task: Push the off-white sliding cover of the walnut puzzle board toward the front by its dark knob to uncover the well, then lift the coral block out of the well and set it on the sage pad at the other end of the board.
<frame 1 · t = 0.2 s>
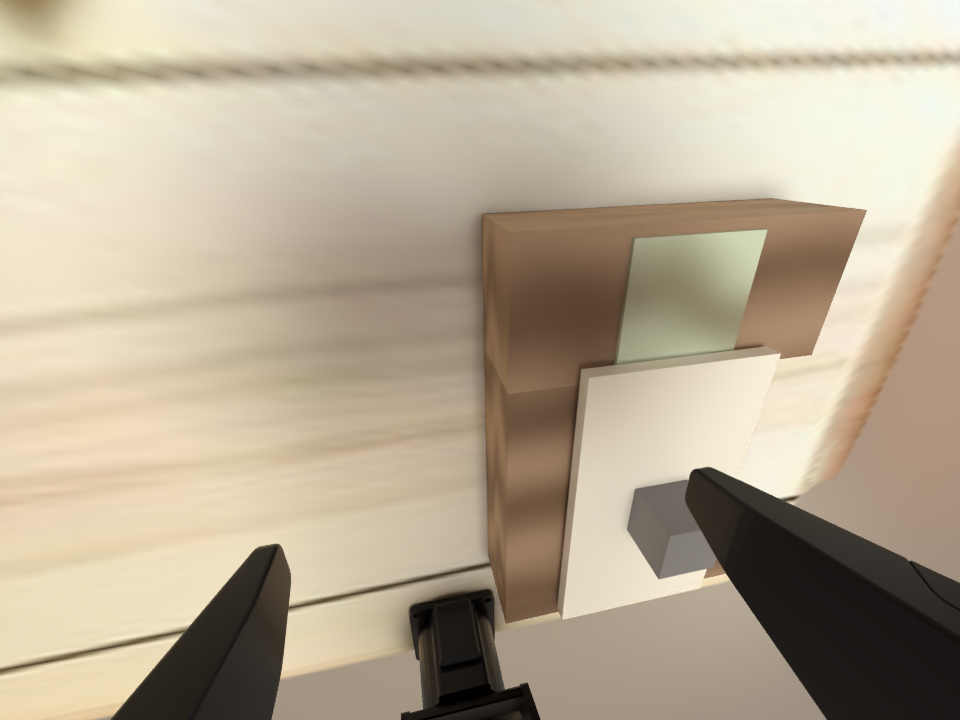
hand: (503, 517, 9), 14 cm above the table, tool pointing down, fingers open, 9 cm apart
cover: (668, 521, 21), point 7 cm above the table, slide at 0.0 cm
board: (608, 404, 26), on the table
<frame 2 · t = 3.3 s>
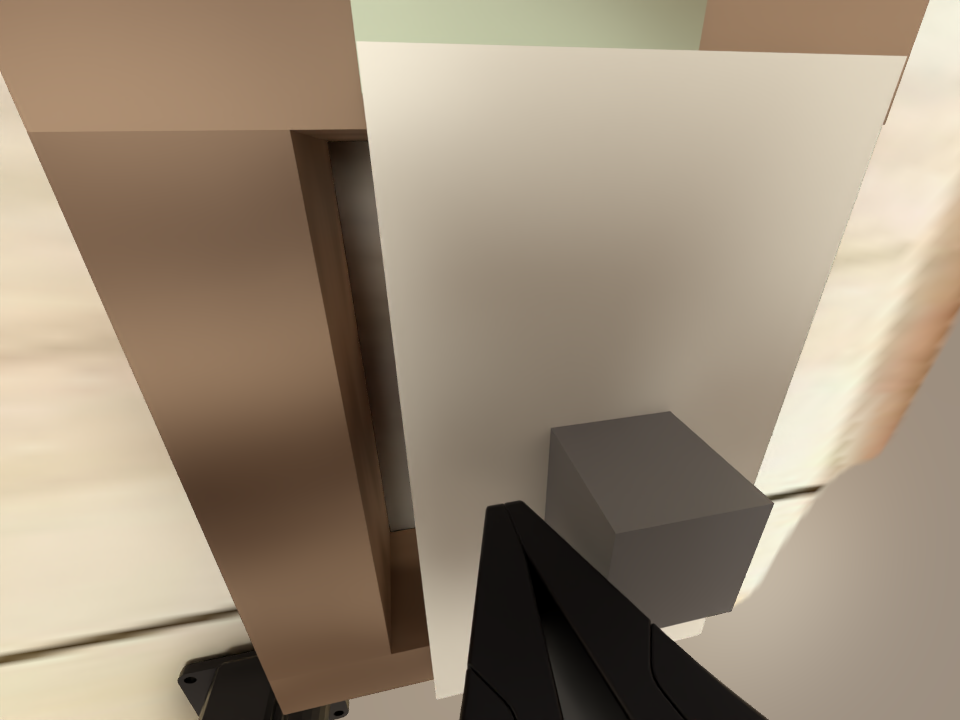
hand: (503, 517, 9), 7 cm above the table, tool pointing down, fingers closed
cover: (627, 501, 9), point 7 cm above the table, slide at 1.8 cm, touching gripper
board: (482, 303, 14), on the table
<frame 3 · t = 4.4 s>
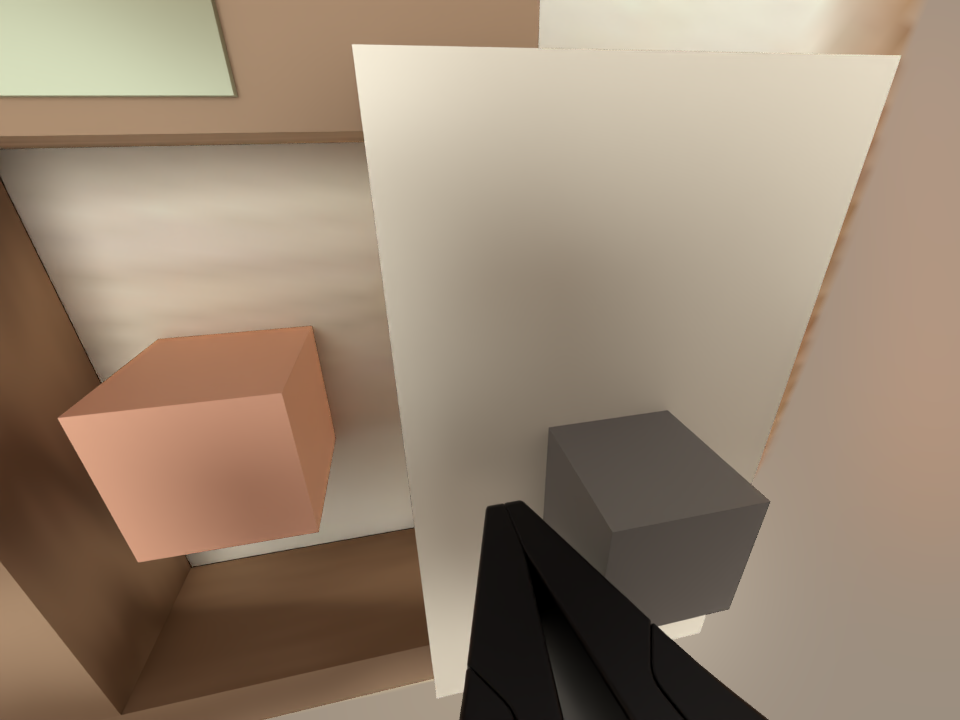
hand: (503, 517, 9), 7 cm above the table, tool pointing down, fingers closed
block: (256, 392, 14), on the table
cover: (625, 500, 9), point 7 cm above the table, slide at 9.7 cm, touching gripper
board: (234, 325, 13), on the table
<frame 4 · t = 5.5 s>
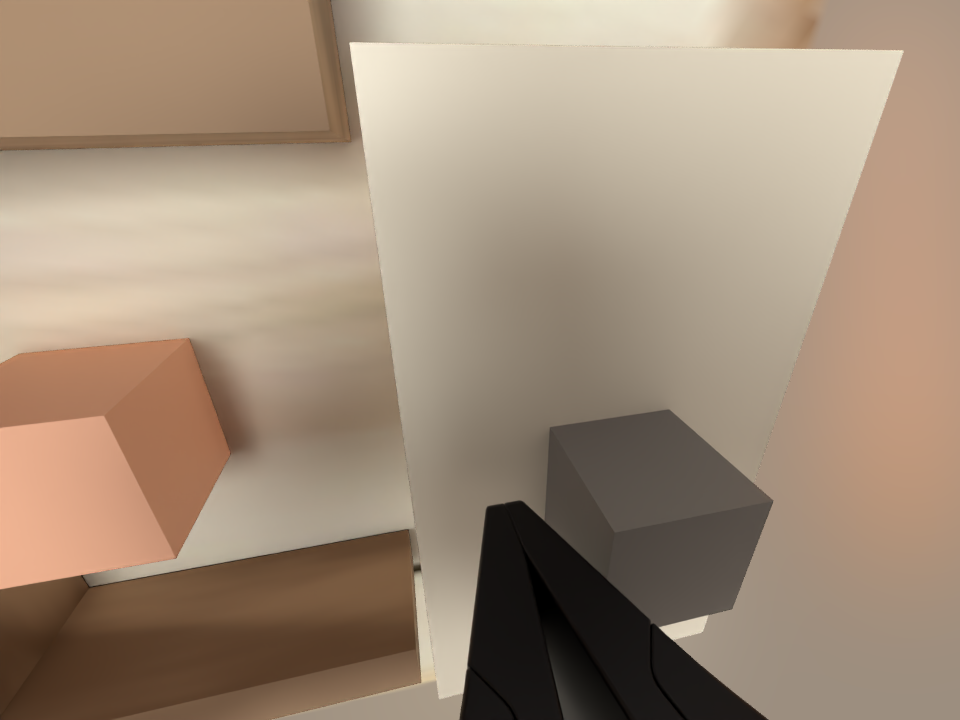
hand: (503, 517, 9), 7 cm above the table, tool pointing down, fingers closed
block: (137, 407, 14), on the table
cover: (627, 500, 9), point 7 cm above the table, slide at 13.3 cm, touching gripper
board: (101, 338, 12), on the table
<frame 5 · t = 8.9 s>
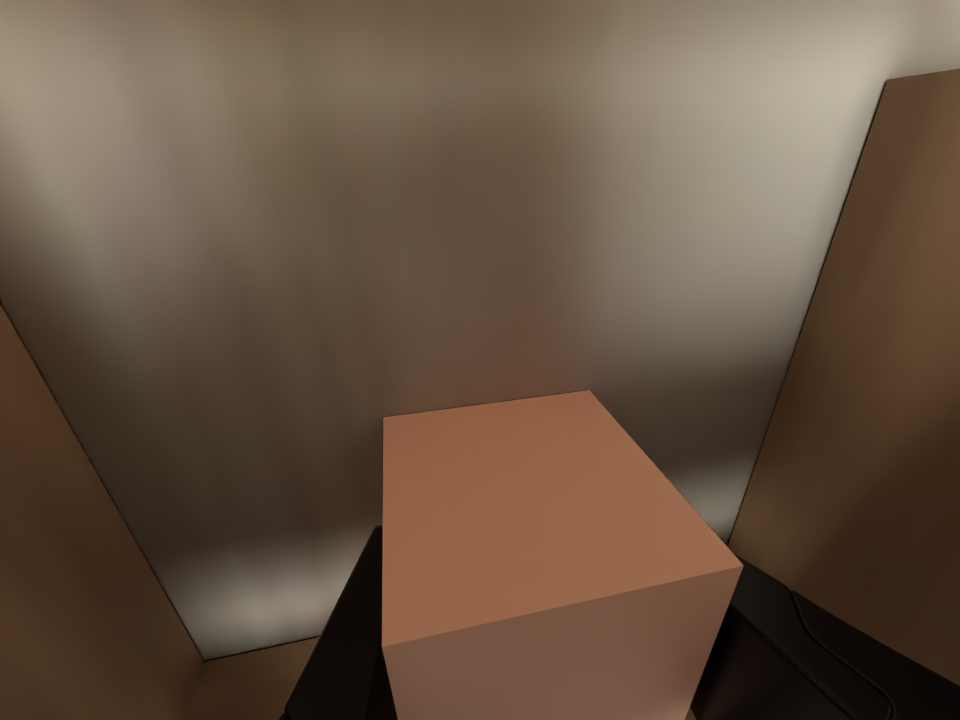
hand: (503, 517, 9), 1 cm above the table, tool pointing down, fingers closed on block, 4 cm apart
block: (492, 483, 10), on the table, touching gripper
board: (384, 502, 9), on the table
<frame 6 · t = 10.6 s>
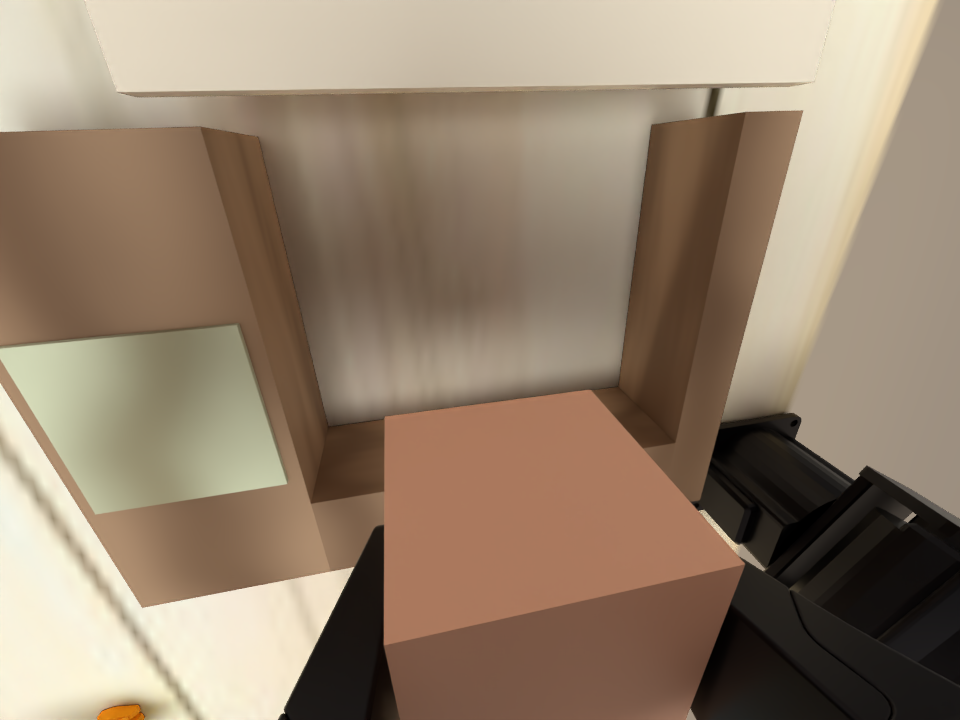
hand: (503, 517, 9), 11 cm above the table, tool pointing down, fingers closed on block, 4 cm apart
block: (493, 482, 10), point 10 cm above the table, touching gripper
toy figure: (121, 710, 26), on the table
board: (424, 333, 19), on the table
when the fingers open (7 cm above the table, at t = 12.1 s): block drops 1 cm, resting on board.
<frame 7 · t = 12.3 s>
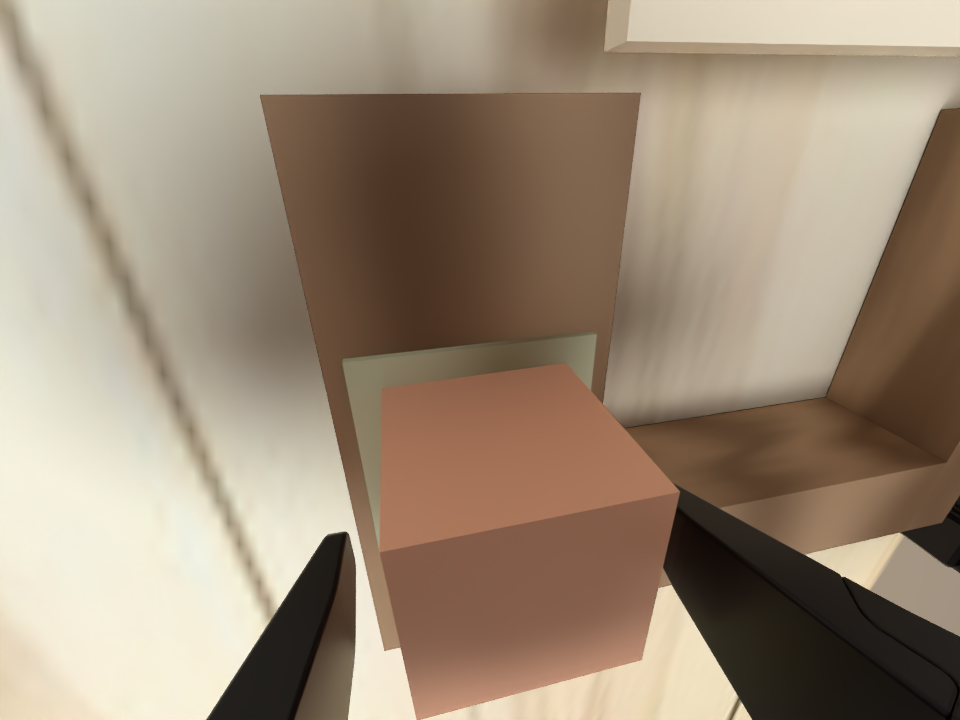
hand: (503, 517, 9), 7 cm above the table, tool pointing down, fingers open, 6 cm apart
block: (481, 450, 11), point 5 cm above the table, touching board
board: (657, 340, 17), on the table
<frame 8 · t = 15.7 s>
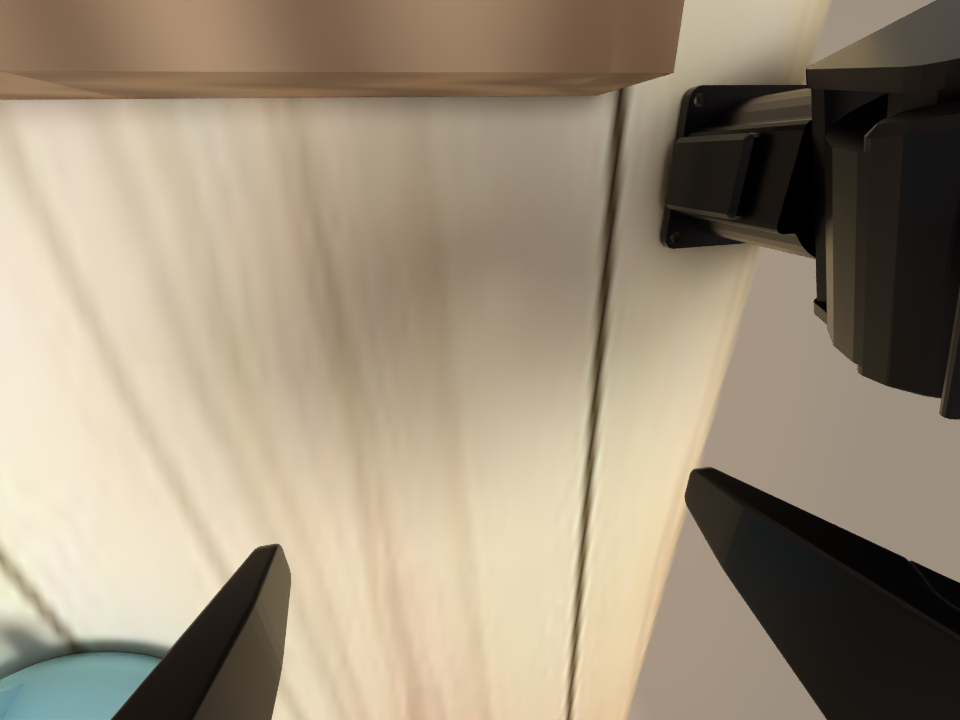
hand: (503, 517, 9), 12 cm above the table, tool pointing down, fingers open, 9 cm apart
teapot: (109, 705, 27), on the table
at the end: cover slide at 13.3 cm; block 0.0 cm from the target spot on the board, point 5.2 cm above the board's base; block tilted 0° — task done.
